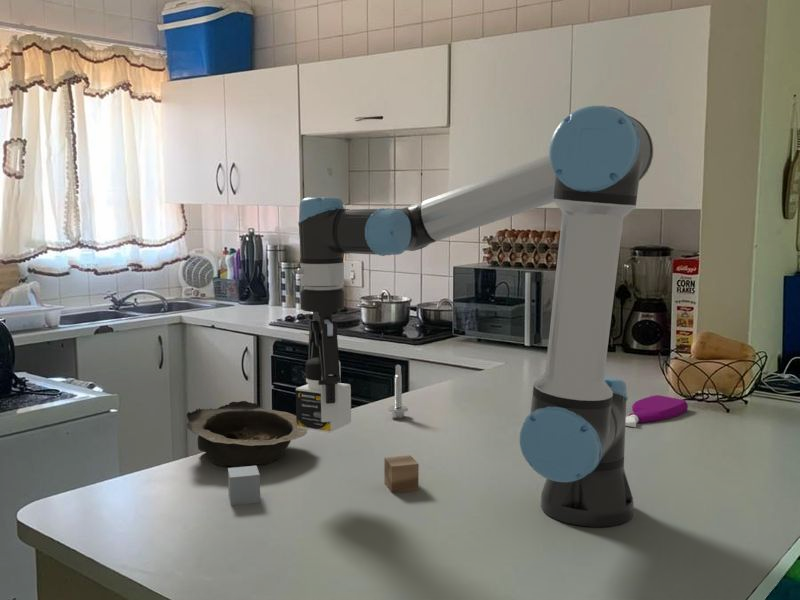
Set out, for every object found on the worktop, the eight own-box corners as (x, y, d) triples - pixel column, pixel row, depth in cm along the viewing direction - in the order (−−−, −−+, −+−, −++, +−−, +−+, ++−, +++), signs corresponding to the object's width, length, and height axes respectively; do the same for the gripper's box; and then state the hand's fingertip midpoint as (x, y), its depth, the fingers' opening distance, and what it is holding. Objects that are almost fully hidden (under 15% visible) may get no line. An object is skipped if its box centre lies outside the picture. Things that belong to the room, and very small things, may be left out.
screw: (408, 419, 187) (388, 419, 187) (407, 414, 192) (388, 414, 192) (408, 366, 186) (388, 366, 186) (407, 362, 191) (387, 362, 191)
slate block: (260, 502, 136) (259, 474, 135) (230, 505, 134) (229, 477, 134) (257, 492, 140) (256, 465, 140) (228, 495, 139) (227, 468, 138)
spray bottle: (691, 412, 196) (641, 433, 179) (651, 404, 204) (599, 424, 187) (692, 401, 195) (641, 421, 179) (651, 393, 203) (599, 412, 186)
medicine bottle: (295, 428, 137) (294, 360, 136) (318, 418, 143) (317, 353, 142) (330, 433, 134) (329, 364, 132) (351, 423, 140) (351, 356, 139)
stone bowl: (177, 444, 168) (179, 401, 167) (292, 440, 177) (294, 400, 176) (189, 480, 145) (191, 430, 144) (320, 474, 154) (323, 427, 153)
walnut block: (418, 490, 141) (418, 463, 141) (391, 493, 140) (391, 466, 139) (410, 481, 146) (410, 455, 146) (384, 483, 145) (384, 457, 144)
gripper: (291, 282, 145) (293, 399, 148) (311, 295, 124) (313, 432, 127) (331, 280, 147) (332, 397, 150) (357, 293, 126) (359, 428, 129)
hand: (323, 413), depth 138 cm, fingers closed on medicine bottle, 10 cm apart
